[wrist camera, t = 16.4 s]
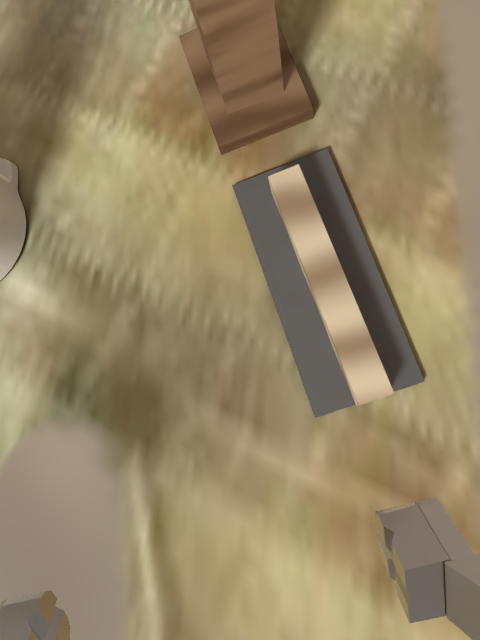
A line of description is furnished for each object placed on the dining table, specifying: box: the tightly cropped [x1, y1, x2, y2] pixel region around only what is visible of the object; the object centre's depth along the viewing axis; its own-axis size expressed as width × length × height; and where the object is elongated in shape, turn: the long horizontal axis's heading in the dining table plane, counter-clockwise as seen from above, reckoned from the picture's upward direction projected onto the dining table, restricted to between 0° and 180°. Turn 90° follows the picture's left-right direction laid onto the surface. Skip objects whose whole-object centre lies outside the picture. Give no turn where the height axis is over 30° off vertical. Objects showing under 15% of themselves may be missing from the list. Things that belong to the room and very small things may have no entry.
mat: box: [232, 148, 424, 418], centre depth 43 cm, size 24×10×1 cm, turn 19°
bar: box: [268, 164, 394, 406], centre depth 41 cm, size 22×3×3 cm, turn 19°
